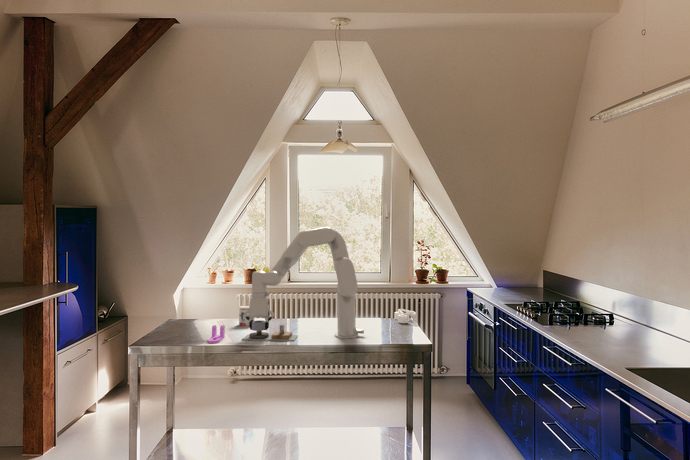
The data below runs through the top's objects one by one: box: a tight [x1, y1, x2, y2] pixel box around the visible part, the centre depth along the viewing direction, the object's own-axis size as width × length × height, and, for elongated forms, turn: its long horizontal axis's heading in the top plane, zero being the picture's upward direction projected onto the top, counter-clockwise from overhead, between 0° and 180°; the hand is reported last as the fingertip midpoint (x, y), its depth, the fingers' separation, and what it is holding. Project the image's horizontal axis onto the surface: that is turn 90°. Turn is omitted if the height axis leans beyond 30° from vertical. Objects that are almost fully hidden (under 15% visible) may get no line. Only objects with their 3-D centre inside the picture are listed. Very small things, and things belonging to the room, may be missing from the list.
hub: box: [248, 331, 270, 339], centre depth 244 cm, size 10×10×6 cm
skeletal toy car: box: [393, 308, 417, 325], centre depth 287 cm, size 20×11×7 cm, turn 5°
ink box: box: [238, 305, 255, 327], centre depth 275 cm, size 9×5×12 cm, turn 105°
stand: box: [270, 324, 293, 339], centre depth 243 cm, size 9×9×6 cm
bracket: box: [207, 324, 226, 344], centre depth 238 cm, size 13×6×7 cm, turn 1°
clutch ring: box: [251, 319, 266, 332], centre depth 244 cm, size 7×7×4 cm
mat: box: [241, 334, 299, 342], centre depth 243 cm, size 27×11×1 cm, turn 86°
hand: (259, 329), depth 244 cm, fingers closed on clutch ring, 7 cm apart
